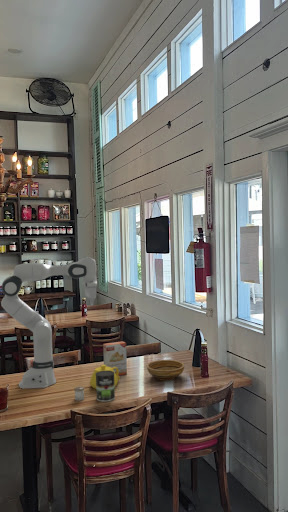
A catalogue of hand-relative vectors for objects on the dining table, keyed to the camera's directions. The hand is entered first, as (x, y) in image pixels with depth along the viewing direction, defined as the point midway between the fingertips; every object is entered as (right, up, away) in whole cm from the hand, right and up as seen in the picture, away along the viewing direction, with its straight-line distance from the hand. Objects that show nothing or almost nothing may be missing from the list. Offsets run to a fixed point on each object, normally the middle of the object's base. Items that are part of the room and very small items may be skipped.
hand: (90, 304), depth 275 cm
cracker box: (+15, -47, +6) cm, 49 cm away
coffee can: (+13, -48, -35) cm, 61 cm away
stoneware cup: (-2, -48, -34) cm, 59 cm away
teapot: (+12, -48, -15) cm, 51 cm away
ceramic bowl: (+48, -46, -2) cm, 66 cm away
